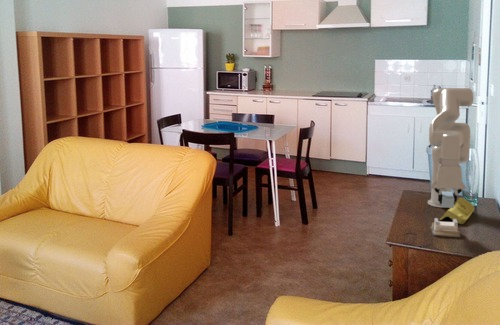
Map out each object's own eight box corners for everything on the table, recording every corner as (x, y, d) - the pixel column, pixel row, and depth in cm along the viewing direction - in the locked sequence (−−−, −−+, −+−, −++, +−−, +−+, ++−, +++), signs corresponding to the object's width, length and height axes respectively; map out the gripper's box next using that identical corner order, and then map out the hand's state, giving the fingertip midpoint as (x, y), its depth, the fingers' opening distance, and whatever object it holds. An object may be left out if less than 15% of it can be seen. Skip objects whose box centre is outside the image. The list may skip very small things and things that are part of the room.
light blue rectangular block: (442, 207, 219) (442, 198, 218) (440, 199, 229) (441, 191, 228) (453, 207, 217) (454, 198, 217) (451, 200, 228) (452, 191, 227)
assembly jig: (430, 227, 232) (430, 222, 232) (456, 229, 230) (456, 223, 229) (433, 235, 223) (433, 230, 222) (460, 237, 220) (460, 231, 220)
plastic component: (465, 220, 234) (445, 208, 238) (457, 232, 238) (438, 220, 242) (477, 206, 249) (458, 195, 253) (469, 218, 253) (450, 206, 257)
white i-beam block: (433, 228, 230) (434, 217, 228) (455, 229, 227) (456, 219, 226) (435, 232, 225) (435, 221, 224) (457, 233, 223) (457, 222, 222)
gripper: (430, 163, 217) (427, 204, 221) (472, 164, 214) (469, 206, 218) (427, 159, 224) (425, 199, 228) (469, 160, 221) (466, 201, 225)
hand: (447, 202), depth 223 cm, fingers closed on light blue rectangular block, 4 cm apart
